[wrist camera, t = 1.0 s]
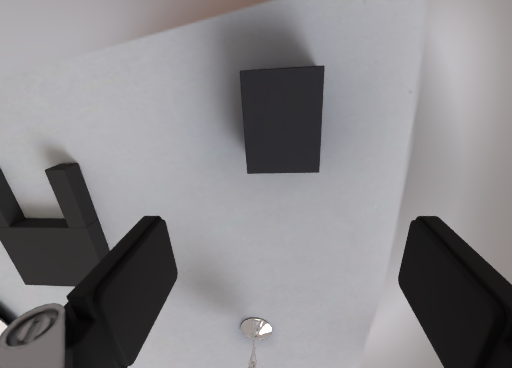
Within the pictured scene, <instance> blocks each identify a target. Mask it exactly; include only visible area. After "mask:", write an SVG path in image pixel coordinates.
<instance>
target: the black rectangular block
mask: <svg viewBox="0 0 512 368" xmlns="http://www.w3.org/2000/svg"><path fill="white" fill-rule="evenodd" d="M240 81H241V94H242V108H243V121H244V135H245V148H246V162H247V173H248V174H253V173H314V172H319V165H320V145H321V125H322V105H323V85H324V66H309V67H293V68H277V69H261V70H245V71H240Z"/></svg>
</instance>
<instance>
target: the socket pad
mask: <svg viewBox="0 0 512 368" xmlns="http://www.w3.org/2000/svg"><path fill="white" fill-rule="evenodd" d="M45 172H46V175H47V177H48V179H49V182H50V184H51V187H52V189H53V191H54V194H55V196H56V198H57V201H58V203H59V206H60V208H61V210H62V213H63V215H64V217H65V219H25V217H24V215H23V213H22V211H21V209H20V207H19V205H18V203H17V201H16V199H15V197H14V195H13V193H12V191H11V189H10V187H9V185H8V183H7V181H6V179H5V177H4V175H3V173H2V171H1V169H0V240H1V242H2V244H3V246H4V248H5V249H6V251H7V253H8V255H9V256H10V258H11V260H12V262H13V263H14V265H15V267H16V269H17V270H18V272H19V274H20V276H21V278H22V279H23V281H24V283H25V284H26V285H48V286H75V287H76V286H77V285H78V284H79V283H80V282H81V281H82V280H83V279H84V278H85V277H86V276H87V275H88V273H89V272H90V271H91V270H92V269H93V268H94V267H95V266H96V265H97V264H98V263H99V262H100V261H101V260H102V259H103V258H104V257H105V256H106V255H107V254H108V253H109V252H110V250H109V247H108V245H107V242H106V239H105V236H104V234H103V231H102V228H101V225H100V222H99V220H98V217H97V215H96V212H95V209H94V206H93V203H92V201H91V198H90V195H89V192H88V190H87V187H86V184H85V181H84V179H83V176H82V173H81V170H80V167H79V165H78V163H74V164H58V165H56V166H53V167H51V168H49V169H46V170H45Z"/></svg>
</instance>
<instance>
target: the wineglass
mask: <svg viewBox="0 0 512 368" xmlns="http://www.w3.org/2000/svg"><path fill="white" fill-rule="evenodd" d="M240 329H241V332H242V334H243V335H244V336H246V337H247V338H249V339H252V340H253V349H252V354H251V357H250V360H249V363H248V364H249V368H256V365H257V360H256V343H257V340H264V339H267V338H268V337H270V335H271V333H272V328H271V326H270V324H269V323H267V322H266V321H264V320H262V319H257V318H251V319H247V320H245V321H244V322H243V323H242V324H241V327H240Z"/></svg>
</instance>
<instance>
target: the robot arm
mask: <svg viewBox="0 0 512 368" xmlns="http://www.w3.org/2000/svg"><path fill="white" fill-rule="evenodd" d="M177 274H178V272H177V267H176V263H175V259H174V255H173V250H172V246H171V242H170V238H169V234H168V230H167V226H166V222H165V220H162V219H161V217H160V216H144V217H143V218H142V219H141V220H140V221H139V222H138V223H137V224H136V225H135V226H134V227H133V228H132V229H131V230H130V231H129V232H128V233H127V234H126V235H125V236H124V237H123V238H122V239H121V240H120V241H119V242H118V244H117V245H116V246H115V247H114V248H113V249H112V250H111V251H110V252H109V253H108V254H107V255H106V256H105V257H104V258H103V259H102V260H101V261H100V262H99V263H98V264H97V265H96V266H95V267H94V268H93V269H92V270H91V271H90V272H89V273H88V275H87V276H86V277H85V278H84V279H83V280H82V281H81V282H80V283H79V284H78V285H77V286H76V287H75V288H74V289H73V290H72V291H71V292H70V293H69V294H68V295H67V296H66V297H67V299H68V301H69V302H68V303H67V304H66V305H65V306H64V307H63V306H62V305H61V304H56V303H52V304H45V305H42V306H39V307H36V308H34V309H32V310H30V311H28V312H26V313H25V314H23V315H21V316H20V317H18V318H17V319H16V320H14V321H13V322H12V323H11V324H10V325H9V326H8V327H7V328H6V329H5V330H4V331H3V332H2V334H1V335H0V368H127V367H128V366H130V365H132V364H133V363H134V361H135V360H136V358H137V356H138V354H139V352H140V350H141V348H142V346H143V344H144V342H145V340H146V338H147V336H148V334H149V332H150V330H151V328H152V326H153V324H154V322H155V321H156V319H157V317H158V315H159V313H160V311H161V309H162V307H163V305H164V303H165V301H166V299H167V297H168V295H169V293H170V291H171V289H172V287H173V285H174V283H175V282H176V279H177ZM398 281H399V285H400V288H401V290H402V291H403V293H404V295H405V297H406V299H407V301H408V303H409V304H410V306H411V308H412V310H413V312H414V313H415V315H416V317H417V319H418V320H419V323H420V324H421V326H422V328H423V330H424V332H425V334H426V335H427V337H428V339H429V341H430V343H431V344H432V346H433V348H434V350H435V352H436V353H437V355H438V357H439V359H440V361H441V363H442V365H443V366H444V368H512V285H511V284H510V283H509V282H508V281H507V280H506V279H505V278H504V277H503V276H502V275H501V274H499V273H498V272H497V271H496V270H495V269H494V268H493V267H492V266H491V265H490V264H489V263H488V262H486V261H485V260H484V259H483V258H482V257H481V256H480V255H479V254H478V253H477V252H476V251H475V250H473V249H472V248H471V247H470V246H469V245H468V244H467V243H466V242H465V241H464V240H463V239H462V238H461V237H459V236H458V235H457V234H456V233H455V232H454V231H453V230H452V229H451V228H450V227H449V226H447V224H445V223H444V222H443V221H442V220H441V219H440V218H439V217H437V216H419V217H417V218H416V220H413V221H412V222H411V224H410V227H409V232H408V237H407V241H406V245H405V250H404V254H403V258H402V263H401V268H400V272H399V276H398Z"/></svg>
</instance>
